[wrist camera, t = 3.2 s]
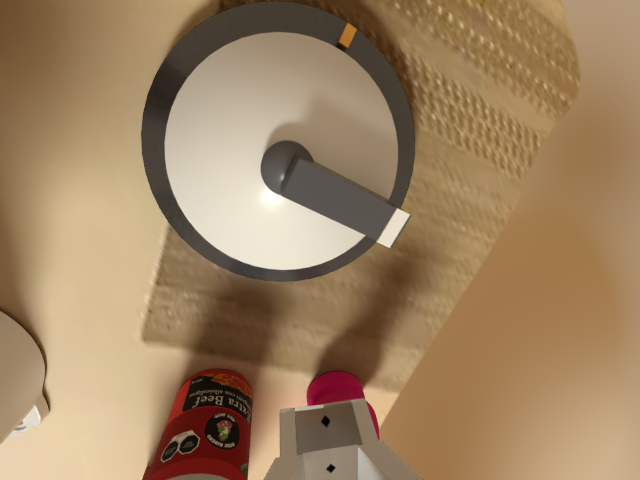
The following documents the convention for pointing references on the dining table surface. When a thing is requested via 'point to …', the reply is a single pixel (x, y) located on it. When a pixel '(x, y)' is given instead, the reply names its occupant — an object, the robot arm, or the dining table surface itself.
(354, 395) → the pepper mill
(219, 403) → the canned food
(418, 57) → the dining table surface
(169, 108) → the dial housing
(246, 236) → the dial
